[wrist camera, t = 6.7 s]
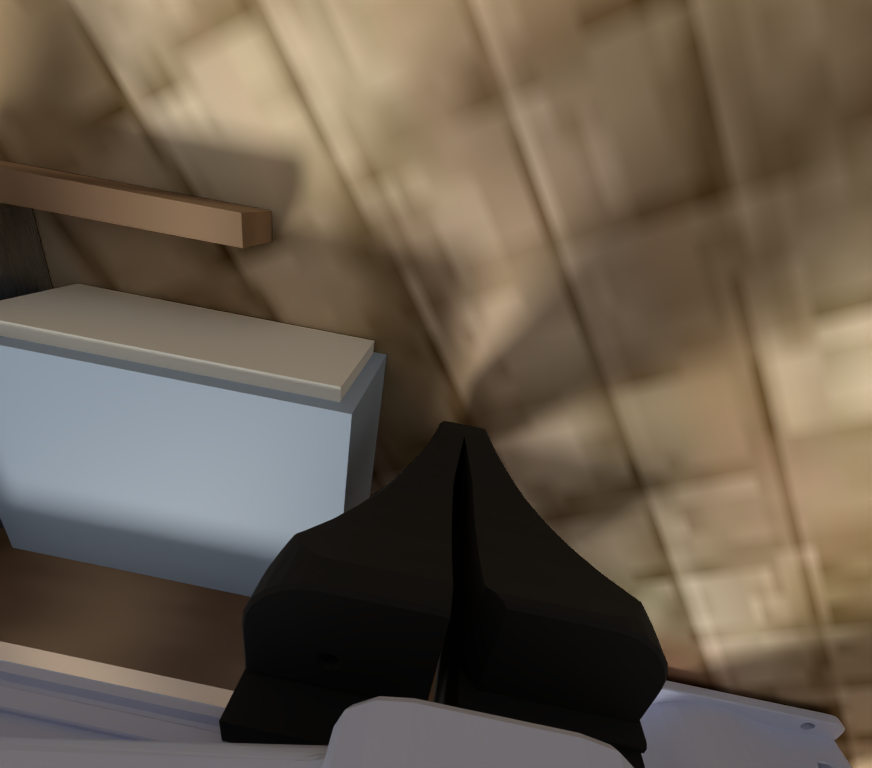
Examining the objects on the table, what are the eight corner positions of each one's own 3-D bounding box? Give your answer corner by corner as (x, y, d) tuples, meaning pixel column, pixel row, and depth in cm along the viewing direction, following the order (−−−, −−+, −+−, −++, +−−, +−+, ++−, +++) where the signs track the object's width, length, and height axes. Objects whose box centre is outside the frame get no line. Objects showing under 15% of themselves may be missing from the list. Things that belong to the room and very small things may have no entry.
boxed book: (390, 338, 12) (353, 398, 9) (368, 516, 16) (335, 614, 12) (76, 278, 12) (-87, 312, 9) (119, 467, 16) (13, 547, 12)
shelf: (642, 279, 11) (812, 369, 5) (526, 580, 16) (549, 784, 10) (-15, 157, 11) (-503, 119, 5) (81, 489, 16) (-124, 639, 11)
